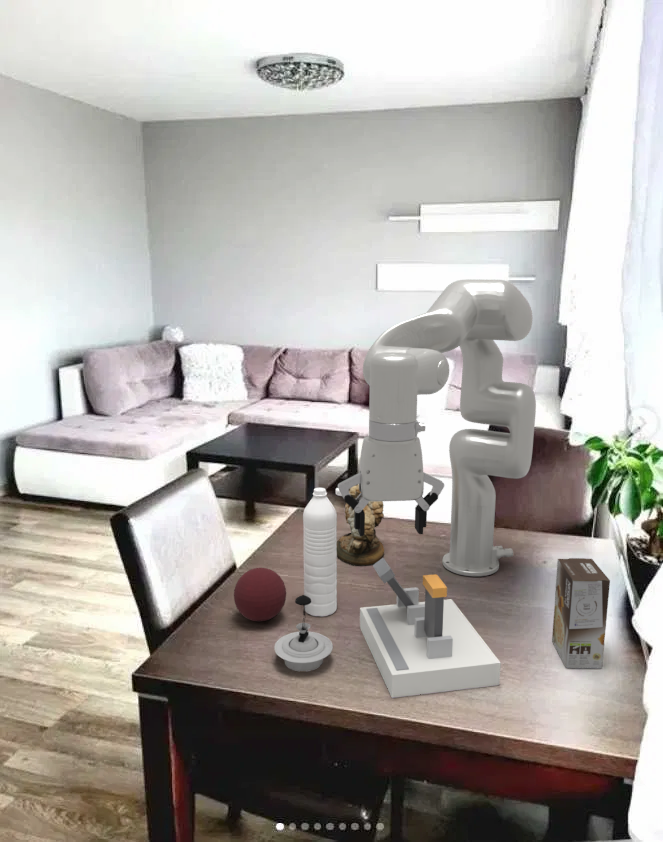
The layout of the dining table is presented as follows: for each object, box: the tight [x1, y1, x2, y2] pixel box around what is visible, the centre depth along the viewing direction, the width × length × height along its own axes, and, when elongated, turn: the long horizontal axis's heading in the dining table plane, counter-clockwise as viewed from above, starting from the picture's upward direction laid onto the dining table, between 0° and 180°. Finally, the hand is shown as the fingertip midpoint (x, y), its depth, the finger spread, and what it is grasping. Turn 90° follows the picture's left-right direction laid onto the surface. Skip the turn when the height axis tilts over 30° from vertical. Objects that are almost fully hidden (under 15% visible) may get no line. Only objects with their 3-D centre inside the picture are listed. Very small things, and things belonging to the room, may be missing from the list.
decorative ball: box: [233, 567, 287, 622], centre depth 129 cm, size 10×10×10 cm
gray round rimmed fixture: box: [274, 594, 334, 672], centre depth 114 cm, size 12×10×10 cm
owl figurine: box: [336, 484, 385, 567], centre depth 160 cm, size 18×12×17 cm, turn 5°
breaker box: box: [359, 586, 502, 699], centre depth 117 cm, size 18×22×7 cm
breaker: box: [372, 557, 415, 608], centre depth 122 cm, size 2×5×11 cm
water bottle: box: [302, 487, 343, 617], centre depth 131 cm, size 9×6×25 cm
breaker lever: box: [422, 573, 448, 638], centre depth 112 cm, size 2×5×11 cm, turn 11°
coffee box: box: [551, 557, 611, 670], centre depth 116 cm, size 9×6×16 cm
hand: (390, 532), depth 111 cm, fingers open, 9 cm apart
